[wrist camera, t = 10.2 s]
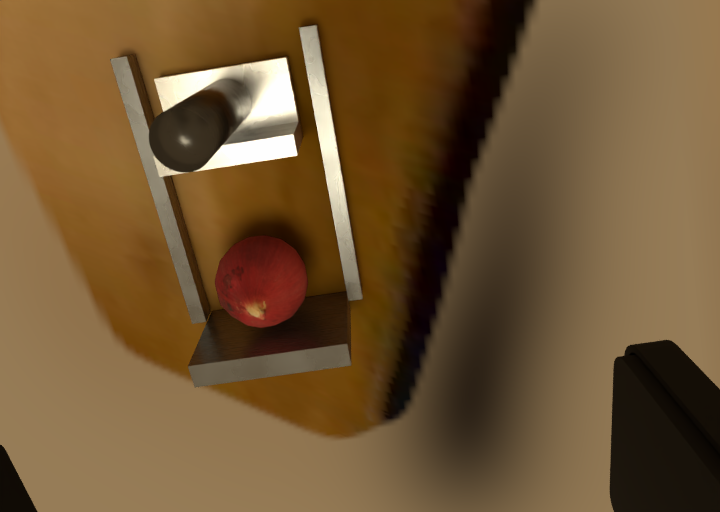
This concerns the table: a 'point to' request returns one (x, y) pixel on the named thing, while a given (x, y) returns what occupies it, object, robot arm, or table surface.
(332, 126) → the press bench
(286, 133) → the carriage
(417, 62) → the table surface
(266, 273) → the pomegranate
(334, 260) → the table surface
